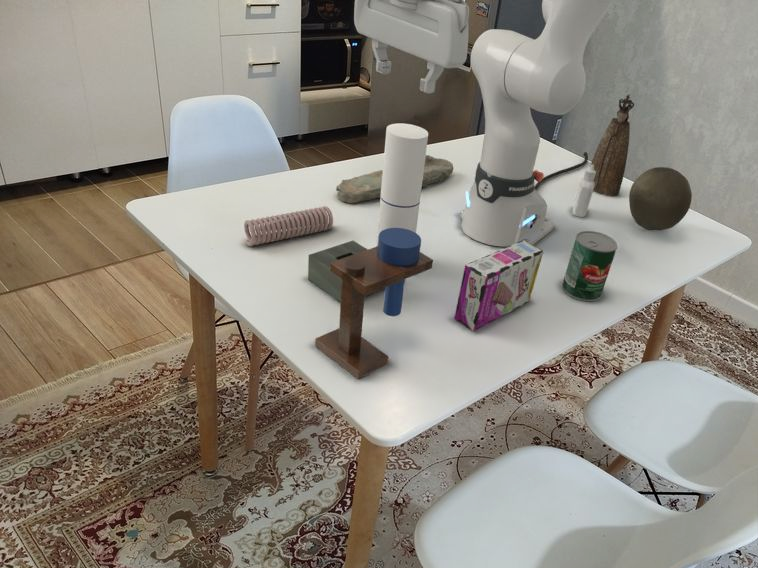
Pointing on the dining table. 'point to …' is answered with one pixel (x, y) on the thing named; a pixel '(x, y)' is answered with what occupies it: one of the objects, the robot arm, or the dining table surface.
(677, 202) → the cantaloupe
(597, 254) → the canned tomato
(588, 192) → the eye dropper bottle
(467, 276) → the candy bar box
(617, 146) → the statue
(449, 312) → the dining table surface
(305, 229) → the coil
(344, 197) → the elongated rock
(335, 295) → the holder
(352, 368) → the stand
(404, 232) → the peg
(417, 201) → the cylindrical container
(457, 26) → the robot arm
